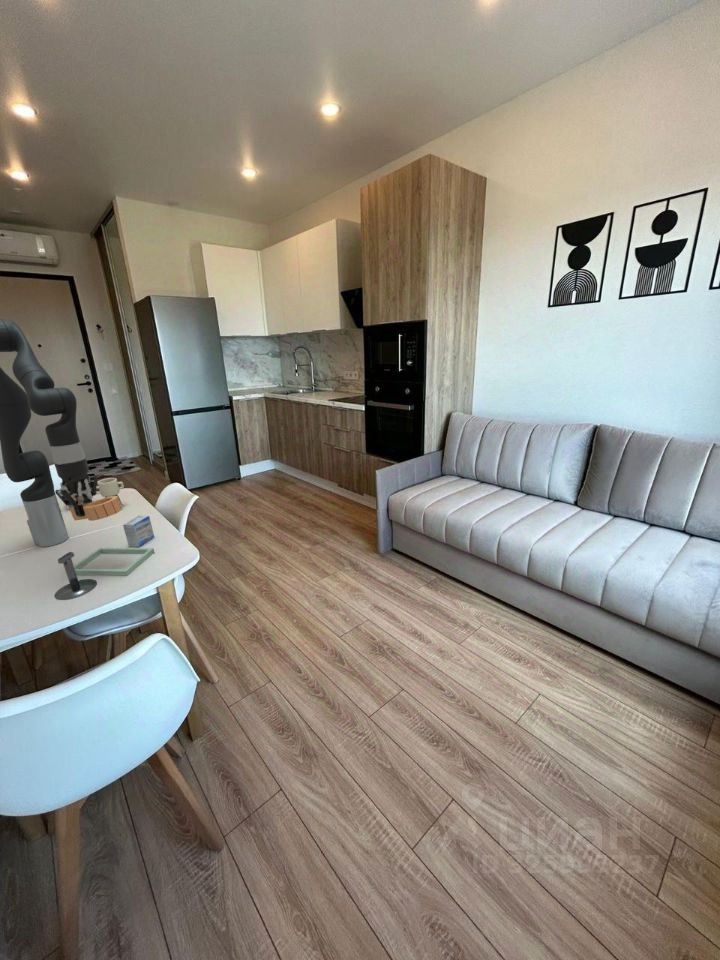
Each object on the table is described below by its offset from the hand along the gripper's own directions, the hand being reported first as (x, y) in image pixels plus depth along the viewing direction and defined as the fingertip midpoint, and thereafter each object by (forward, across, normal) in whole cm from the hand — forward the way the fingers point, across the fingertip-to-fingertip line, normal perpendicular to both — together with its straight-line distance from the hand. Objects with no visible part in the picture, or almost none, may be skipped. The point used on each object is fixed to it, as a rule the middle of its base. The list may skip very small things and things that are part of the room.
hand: (85, 513), depth 118 cm
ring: (+1, 0, +4) cm, 4 cm away
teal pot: (+18, -48, -46) cm, 69 cm away
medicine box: (+18, -16, +3) cm, 25 cm away
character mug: (+18, -46, -29) cm, 57 cm away
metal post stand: (+18, +14, +3) cm, 23 cm away
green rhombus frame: (+18, 0, +4) cm, 19 cm away
